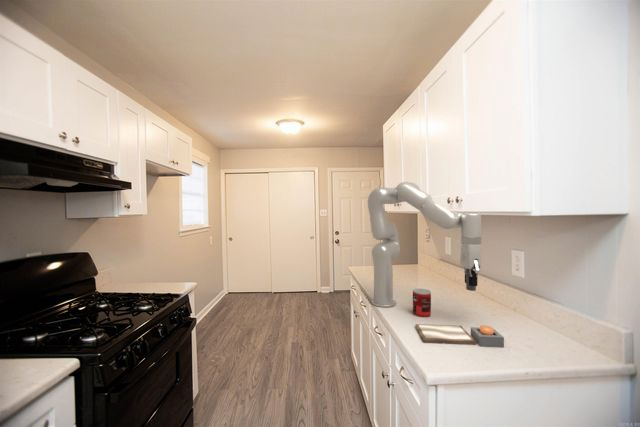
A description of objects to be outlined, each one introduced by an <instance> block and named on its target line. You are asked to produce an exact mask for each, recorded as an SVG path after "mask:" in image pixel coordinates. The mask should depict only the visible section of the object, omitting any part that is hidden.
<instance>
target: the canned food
mask: <svg viewBox="0 0 640 427" xmlns="http://www.w3.org/2000/svg"><path fill="white" fill-rule="evenodd" d="M412 314H413V315H414V316H416V317H420V318H429V317H431V314H432V292H431V291H430V290H429V289H427V288H415V289H414V288H413V289H412Z"/></svg>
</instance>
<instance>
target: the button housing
mask: <svg viewBox="0 0 640 427" xmlns="http://www.w3.org/2000/svg"><path fill="white" fill-rule="evenodd" d="M493 329H494V335H482V334H481V333H480V326H479V327H477V326H476V327H473V326H472V327H470V336H471V337H472V338H473V339H474V340H475V341H476V344H478V346H479V347H489V348H494V347H495V348H505V337H504V336H503V335H502V334H501V333H499V331H497V330H496V329H495V328H493Z"/></svg>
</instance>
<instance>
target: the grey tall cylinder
mask: <svg viewBox="0 0 640 427" xmlns="http://www.w3.org/2000/svg"><path fill="white" fill-rule="evenodd" d="M471 269H475V268H474V267H472V268H471ZM473 271H474V270H472V272H473ZM469 276H470V271H469V269H467V268H466V283H465V289H466V291H477V290H476V289H477V286H469Z"/></svg>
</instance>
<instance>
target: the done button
mask: <svg viewBox="0 0 640 427" xmlns="http://www.w3.org/2000/svg"><path fill="white" fill-rule="evenodd" d="M479 328H480V333H481V334H482V335H494V329H495V328H494V327H491V326H488V325H479Z"/></svg>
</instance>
